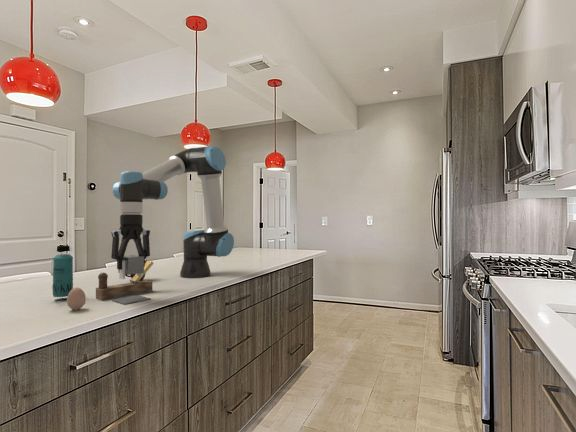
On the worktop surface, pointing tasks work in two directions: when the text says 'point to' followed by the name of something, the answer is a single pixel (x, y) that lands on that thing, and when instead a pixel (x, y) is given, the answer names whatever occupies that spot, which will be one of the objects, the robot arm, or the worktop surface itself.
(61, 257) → the beverage bottle
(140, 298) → the pad
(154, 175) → the robot arm
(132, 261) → the grey block
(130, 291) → the plane body
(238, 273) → the worktop surface
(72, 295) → the egg
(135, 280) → the lever
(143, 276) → the mug
